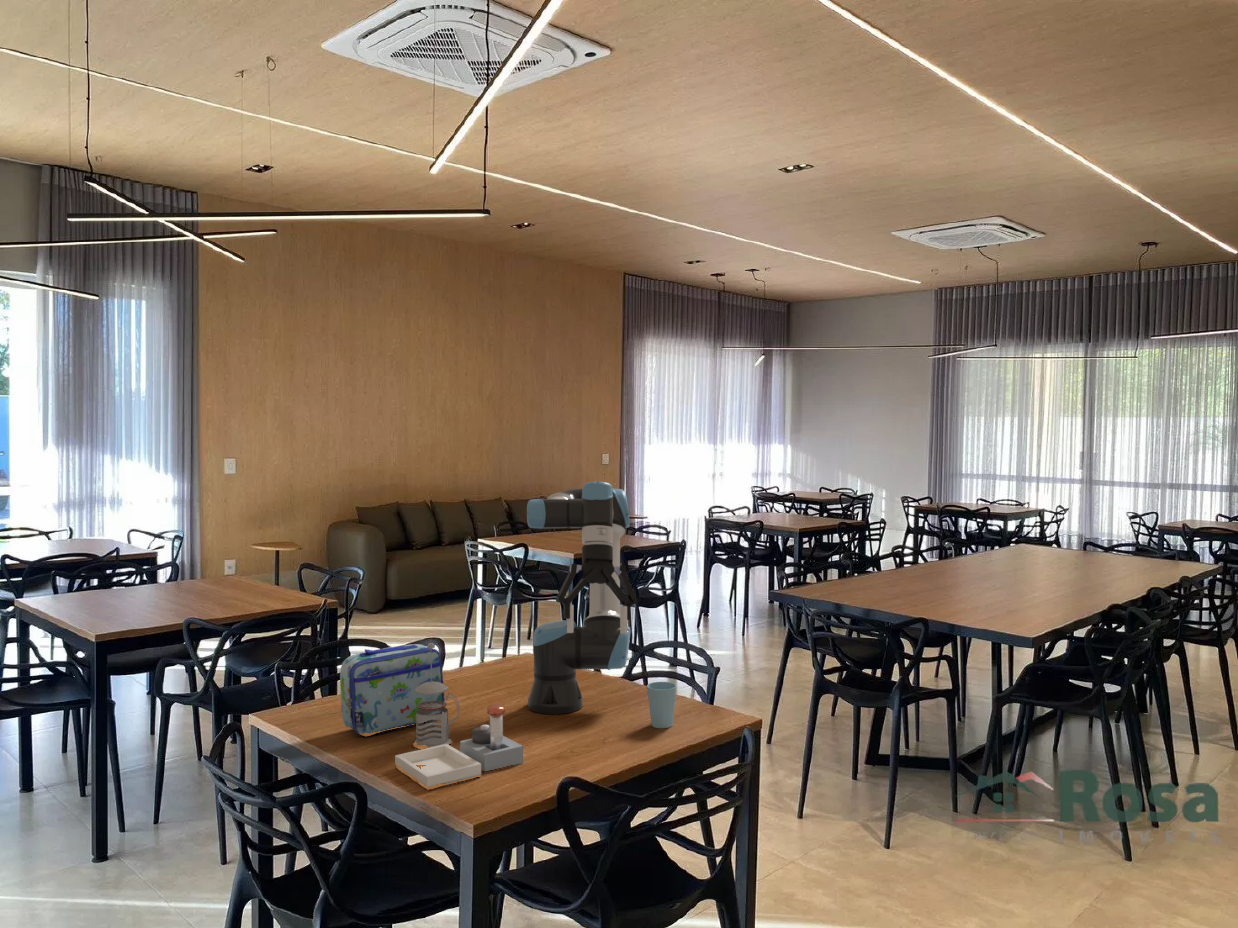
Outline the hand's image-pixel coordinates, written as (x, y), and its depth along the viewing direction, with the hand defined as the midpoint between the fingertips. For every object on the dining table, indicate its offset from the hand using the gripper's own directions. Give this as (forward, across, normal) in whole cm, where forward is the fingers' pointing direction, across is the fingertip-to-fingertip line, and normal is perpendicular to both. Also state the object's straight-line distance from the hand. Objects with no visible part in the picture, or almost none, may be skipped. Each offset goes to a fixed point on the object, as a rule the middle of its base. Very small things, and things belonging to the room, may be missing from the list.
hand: (597, 633), depth 230 cm
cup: (+22, +24, +18) cm, 38 cm away
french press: (+26, -32, +27) cm, 50 cm away
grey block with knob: (+29, -22, +10) cm, 38 cm away
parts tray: (+31, -36, +8) cm, 48 cm away
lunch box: (+22, -41, +44) cm, 64 cm away
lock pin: (+30, -22, +8) cm, 38 cm away
